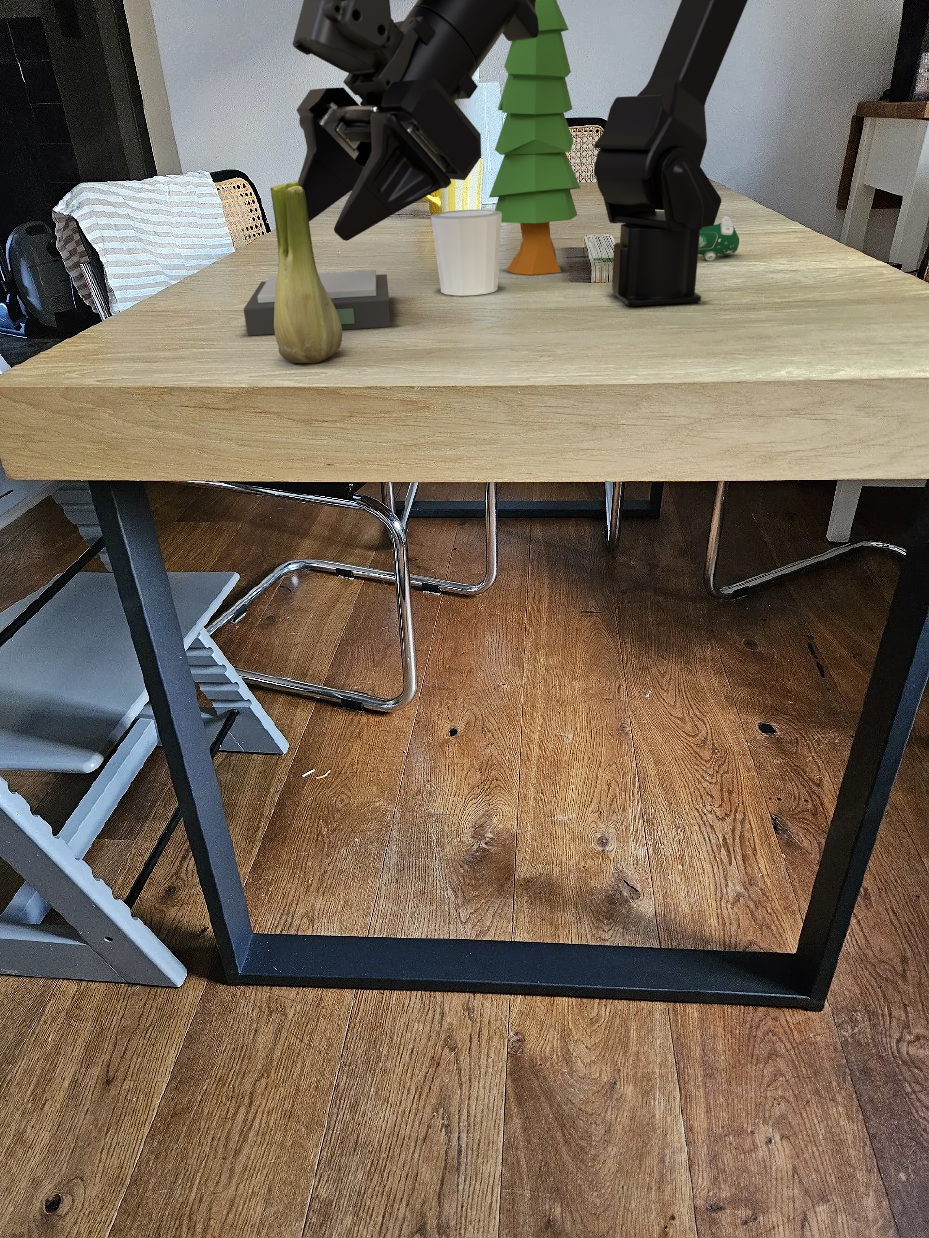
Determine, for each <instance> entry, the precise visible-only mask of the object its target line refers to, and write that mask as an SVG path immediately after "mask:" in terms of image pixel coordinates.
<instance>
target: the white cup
mask: <svg viewBox="0 0 929 1238" xmlns="http://www.w3.org/2000/svg"><path fill="white" fill-rule="evenodd" d="M501 220H502V212H499V211H495V209H494V210H492V209H459V210H458V209H457V210H449V211H442V212H439V213H435V214H431V215H430V222H431V228H432V235H433V242H434V249H435V257H436V264H437V271H438V279H439V285H440V286H439V287H440V292H441V293H442V294H443V295H448V296H460V297H463V296H479V295H487V294H491V293H494V292H496V291H498V287H499V286H498V285H499V269H500V251H501V236H502V223H501Z"/></svg>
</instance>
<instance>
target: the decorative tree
mask: <svg viewBox="0 0 929 1238" xmlns="http://www.w3.org/2000/svg"><path fill="white" fill-rule="evenodd" d="M535 9H536V14H537V17H538V25H539V34H538V36H537V37H536V38H531V39H524V40H517V41H511V42H510V46H509V49H508V53H507V56H506V59H505V62H504V65H503V67H504V69H505V71H506V73H507V76H506V80H505V84H504V87H503V90H502V94H501V97H500V100H499V103H498V106H497V110H498V111H501V112H502V113H503V114H506V115H505V118H504V120H503V124H502V126H501V129H500V133H499V136H498V139H497V141H496V144H495V147H494V151H495V152H497V154H499V155H500V156H503V158H502V160H501V163H500V167H499V168H498V172H497V173H496V177H495V180H494V181H493V185H492V188H491V190H490V193H489V196H488V198H497V200H496V205H495V208H494V211H499V212H502V220H501V224H504V223H505V224H519V225H520V231H521V236H522V237H521V239H522V241H521V244H520V247H519V250H518V251H517V252H516V255H515V256H514V257H513V259H512V261H511V262H510V264H509V265H508V266H507V268H506V269H505V271H507V272H509V273H512V274H515V275H517V274H518V275H531V276H535V275H546V274H555V273H562V270H561V267H560V265H559V264H558V259H557V254H556V249H555V245H554V243H553V240H552V238H551V228H550V223H551V222H561V221H570V220H571V221H572V220H573V219H575V217H577V216H578V212H577V208H576V206H575V202H574V199H573V195H572V192H571V190H579V189H581V186H580V183H579V181H578V178H577V177H576V173H575V172H574V169H573V167H572V164H571V162H570V160H569V157H568V155H567V153H570V152H571V151H572V147H573V144H574V137H573V135H572V132H571V130H570V127H569V123H568V122H567V118H566V116H565V113H568V112H570V111H572V110H573V105H572V101H571V96H570V91H569V88H568V84H567V80H566V78H567V77H568V76H569V75H570V74H571V72H572V71H571V66H570V62H569V58H568V54H567V50H566V46H565V41H564V38H563V32H566V31H569V26H568V24H567V22H566V19H565V17H564V15H563V13H562V11H561V7H560V5H559V3H558V1H557V0H536V3H535Z"/></svg>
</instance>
